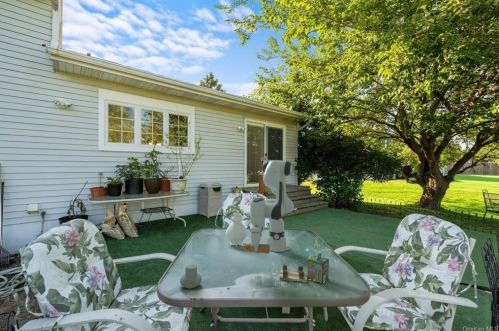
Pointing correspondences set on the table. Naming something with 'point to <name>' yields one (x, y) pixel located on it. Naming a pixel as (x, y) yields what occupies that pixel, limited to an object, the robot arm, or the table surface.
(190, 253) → the table surface
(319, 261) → the chalk box
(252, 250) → the amber bottle
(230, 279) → the table surface
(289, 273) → the bottle rest
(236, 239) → the decorative vase
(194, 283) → the air freshener
